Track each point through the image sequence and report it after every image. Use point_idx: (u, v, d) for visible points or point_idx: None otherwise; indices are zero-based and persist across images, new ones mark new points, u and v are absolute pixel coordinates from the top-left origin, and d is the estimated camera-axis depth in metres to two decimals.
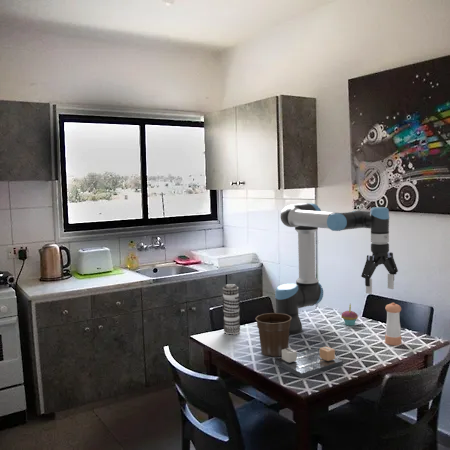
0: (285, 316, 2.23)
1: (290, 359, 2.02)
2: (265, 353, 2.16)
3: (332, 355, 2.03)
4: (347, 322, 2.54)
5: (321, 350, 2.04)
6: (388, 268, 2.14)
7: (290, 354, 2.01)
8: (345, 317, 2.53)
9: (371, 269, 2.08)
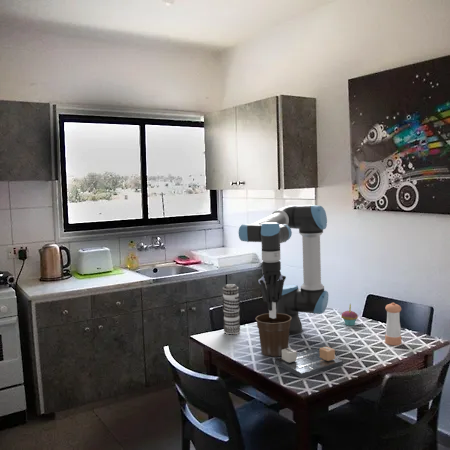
0: (285, 316, 2.23)
1: (290, 359, 2.02)
2: (265, 353, 2.16)
3: (332, 355, 2.03)
4: (347, 322, 2.54)
5: (321, 350, 2.04)
6: (273, 292, 1.97)
7: (290, 354, 2.01)
8: (345, 317, 2.53)
9: (269, 292, 1.96)
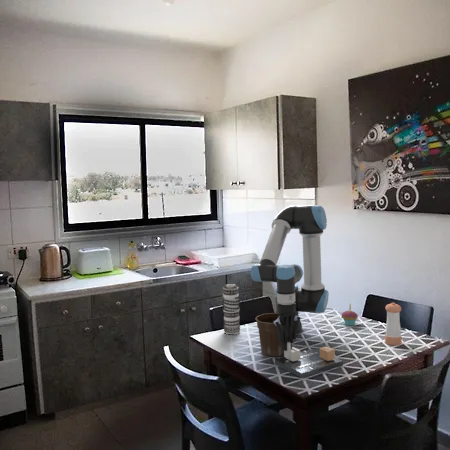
0: None
1: (294, 358, 2.03)
2: (265, 353, 2.16)
3: (332, 355, 2.03)
4: (347, 322, 2.54)
5: (321, 350, 2.04)
6: (288, 332, 2.03)
7: (294, 353, 2.02)
8: (345, 317, 2.53)
9: (284, 333, 2.02)
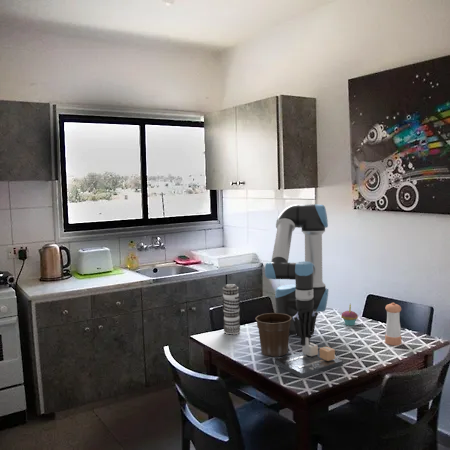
0: (285, 316, 2.23)
1: (312, 353, 2.08)
2: (265, 353, 2.16)
3: (332, 355, 2.03)
4: (347, 322, 2.54)
5: (321, 350, 2.04)
6: (306, 328, 2.08)
7: (312, 348, 2.07)
8: (345, 317, 2.53)
9: (302, 328, 2.06)
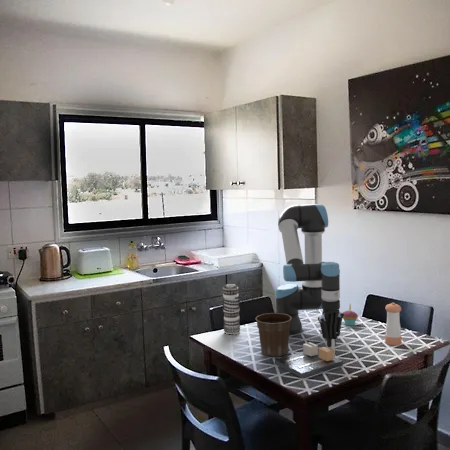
0: (285, 316, 2.23)
1: (312, 353, 2.08)
2: (265, 353, 2.16)
3: (331, 355, 2.03)
4: (347, 322, 2.54)
5: (320, 350, 2.04)
6: (332, 329, 2.05)
7: (312, 348, 2.07)
8: (345, 317, 2.53)
9: (328, 329, 2.03)
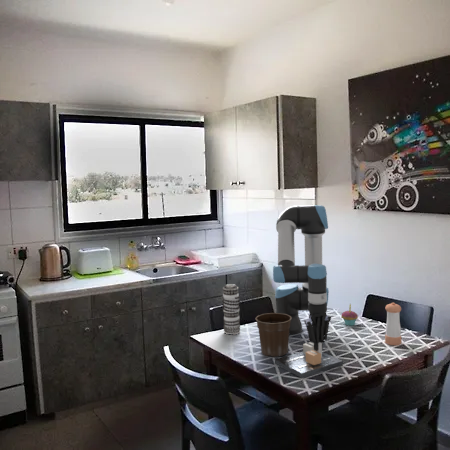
0: (285, 316, 2.23)
1: None
2: (265, 353, 2.16)
3: (318, 359, 1.99)
4: (347, 322, 2.54)
5: (307, 354, 2.01)
6: (319, 332, 2.01)
7: (312, 348, 2.07)
8: (345, 317, 2.53)
9: (315, 333, 2.00)
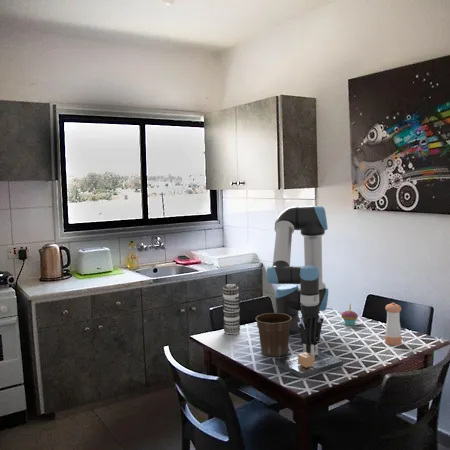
0: (285, 316, 2.23)
1: None
2: (265, 353, 2.16)
3: (311, 361, 1.97)
4: (347, 322, 2.54)
5: (299, 356, 1.99)
6: (312, 334, 1.99)
7: None
8: (345, 317, 2.53)
9: (307, 335, 1.98)
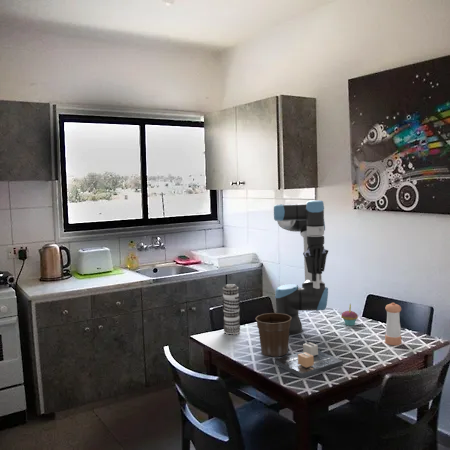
0: (285, 316, 2.23)
1: (312, 353, 2.08)
2: (265, 353, 2.16)
3: (311, 361, 1.97)
4: (347, 322, 2.54)
5: (299, 356, 1.99)
6: (317, 264, 2.15)
7: (312, 348, 2.07)
8: (345, 317, 2.53)
9: (313, 264, 2.14)
